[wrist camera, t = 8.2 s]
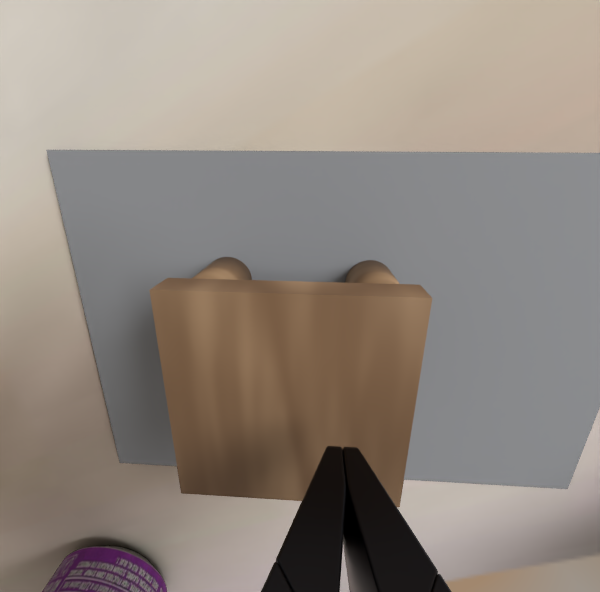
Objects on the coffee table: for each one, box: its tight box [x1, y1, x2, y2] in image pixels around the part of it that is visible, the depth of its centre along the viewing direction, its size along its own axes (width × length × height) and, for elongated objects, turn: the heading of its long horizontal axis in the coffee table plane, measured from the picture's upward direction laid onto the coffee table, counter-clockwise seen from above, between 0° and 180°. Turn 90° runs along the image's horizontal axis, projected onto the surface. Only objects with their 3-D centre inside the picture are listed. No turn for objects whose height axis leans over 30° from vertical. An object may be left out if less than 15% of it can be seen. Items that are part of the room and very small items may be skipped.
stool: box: [149, 257, 432, 507], centre depth 13 cm, size 5×8×8 cm
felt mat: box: [47, 150, 600, 489], centre depth 15 cm, size 24×16×1 cm, turn 89°
